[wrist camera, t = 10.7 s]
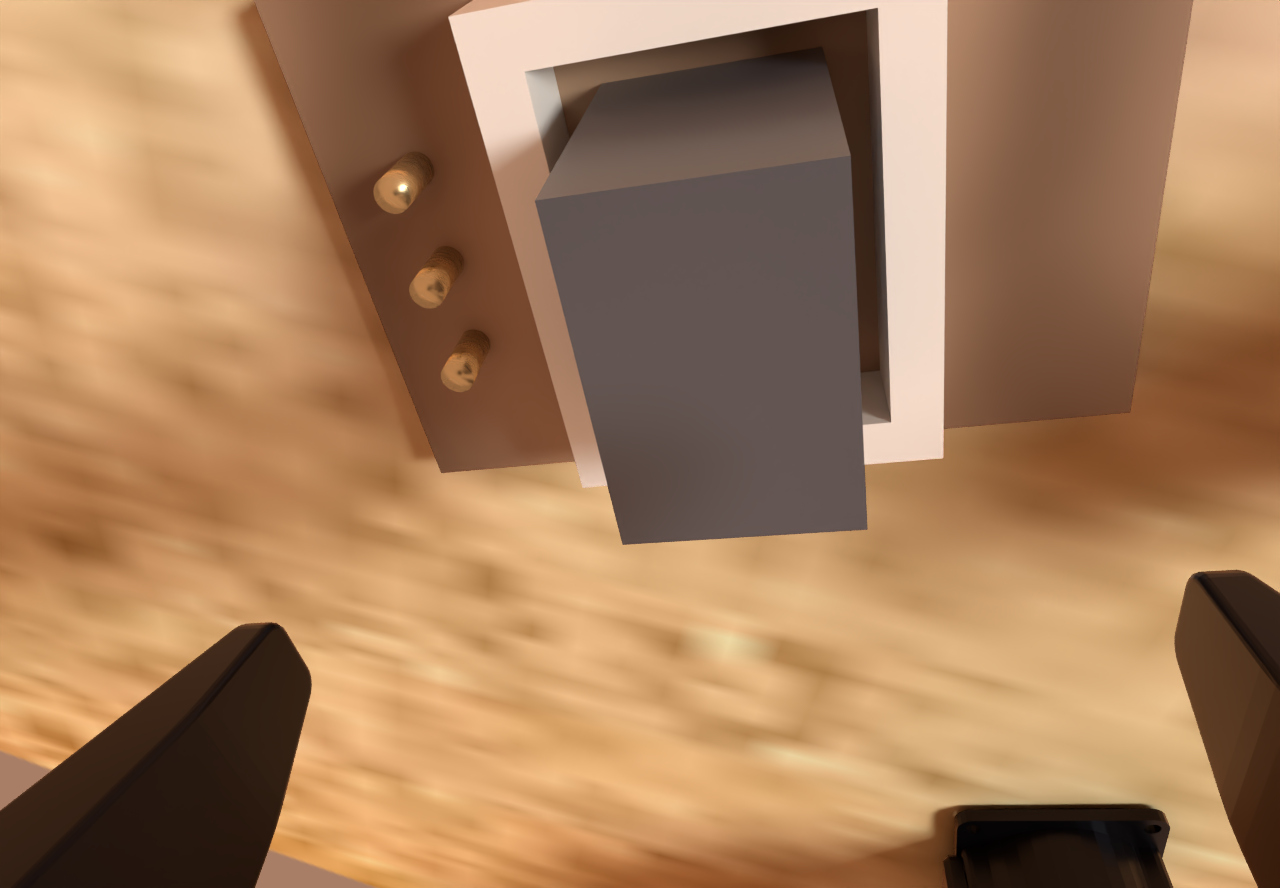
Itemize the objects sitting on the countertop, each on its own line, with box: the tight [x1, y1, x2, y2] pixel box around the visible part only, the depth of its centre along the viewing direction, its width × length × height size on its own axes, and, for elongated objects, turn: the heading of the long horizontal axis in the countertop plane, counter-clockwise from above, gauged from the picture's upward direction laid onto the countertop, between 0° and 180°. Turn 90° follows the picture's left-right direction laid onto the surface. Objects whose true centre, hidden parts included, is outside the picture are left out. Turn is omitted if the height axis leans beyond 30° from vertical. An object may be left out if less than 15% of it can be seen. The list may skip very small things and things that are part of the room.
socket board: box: [254, 0, 1193, 488], centre depth 17 cm, size 16×11×3 cm
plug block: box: [535, 47, 867, 545], centre depth 15 cm, size 4×6×6 cm, turn 10°
